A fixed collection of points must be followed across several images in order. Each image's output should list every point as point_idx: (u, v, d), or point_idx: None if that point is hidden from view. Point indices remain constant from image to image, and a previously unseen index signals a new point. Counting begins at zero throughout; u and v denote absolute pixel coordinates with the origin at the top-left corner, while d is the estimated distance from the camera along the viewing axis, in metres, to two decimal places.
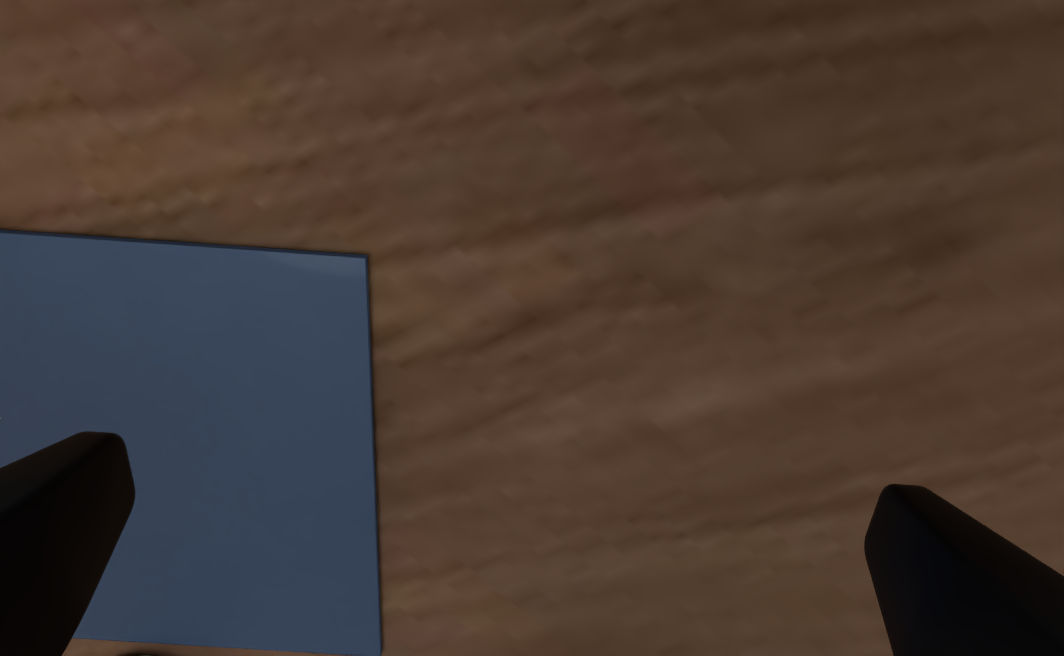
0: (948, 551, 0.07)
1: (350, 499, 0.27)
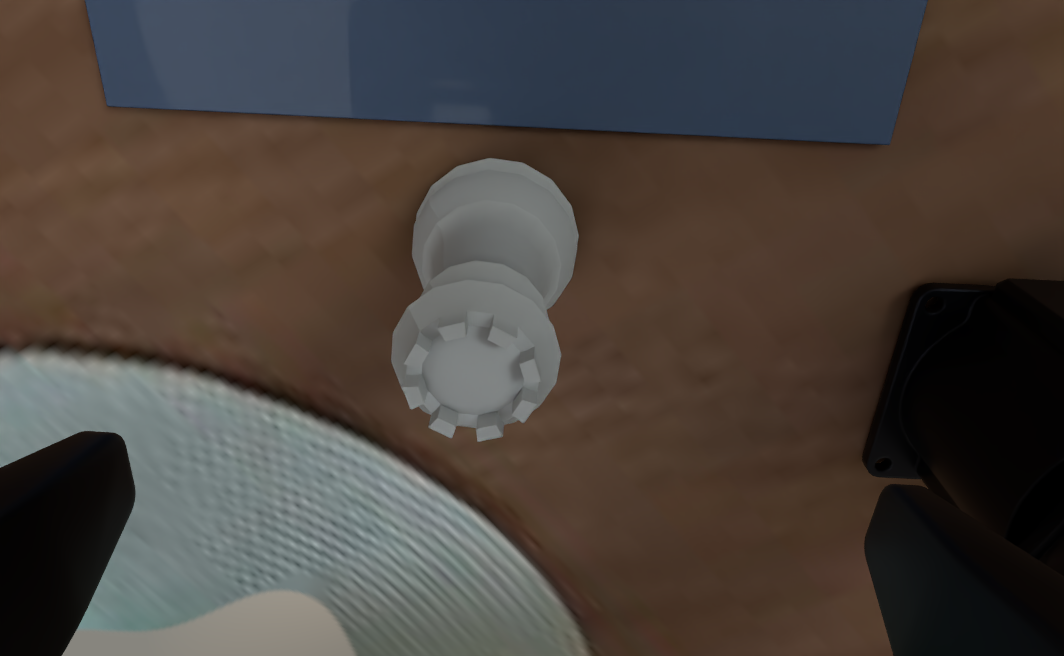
0: (948, 551, 0.07)
1: None
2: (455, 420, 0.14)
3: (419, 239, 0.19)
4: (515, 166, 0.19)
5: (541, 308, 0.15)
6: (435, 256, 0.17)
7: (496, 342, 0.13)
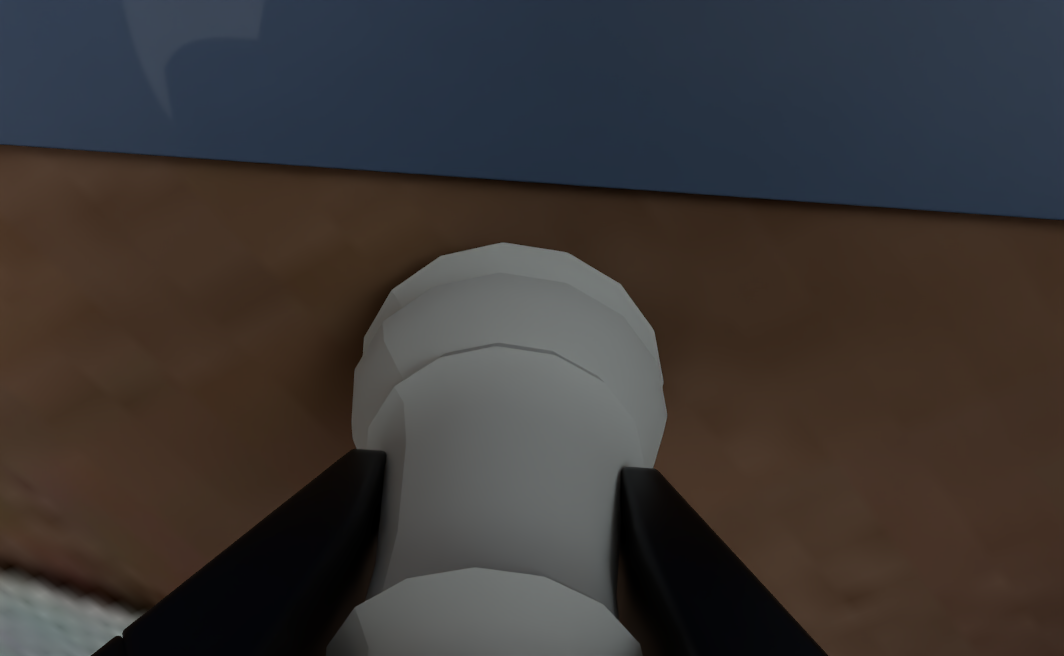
0: (637, 531, 0.07)
1: None
2: None
3: (362, 403, 0.09)
4: (552, 259, 0.10)
5: None
6: (388, 464, 0.08)
7: None
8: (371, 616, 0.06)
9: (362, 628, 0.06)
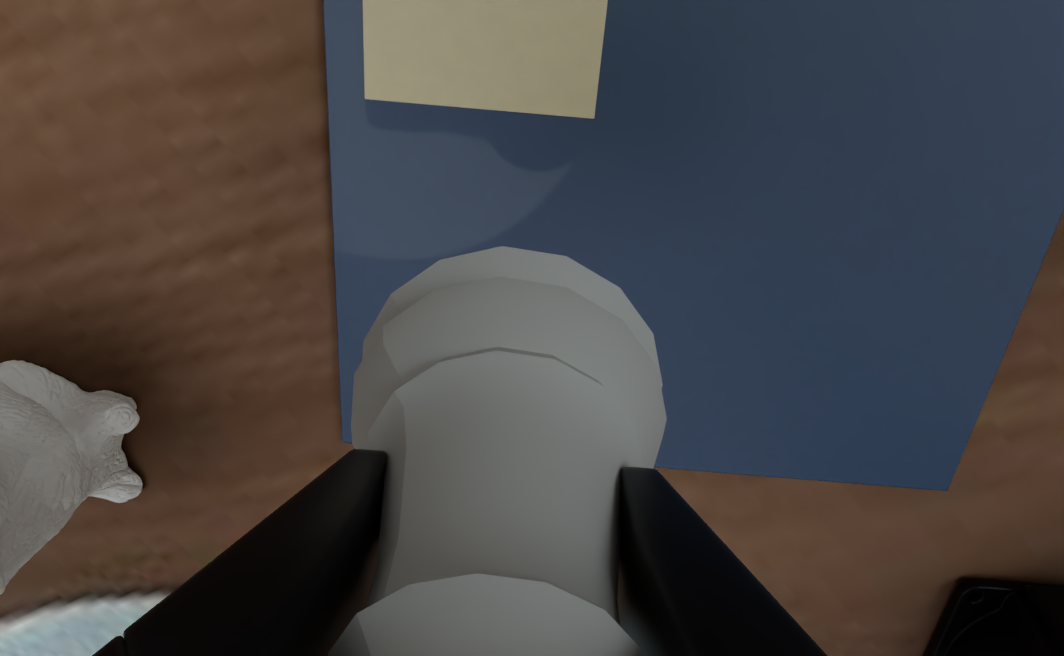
0: (637, 531, 0.07)
1: (1014, 251, 0.21)
2: None
3: (363, 408, 0.09)
4: (552, 263, 0.10)
5: None
6: (388, 469, 0.08)
7: None
8: (373, 622, 0.06)
9: (364, 634, 0.06)
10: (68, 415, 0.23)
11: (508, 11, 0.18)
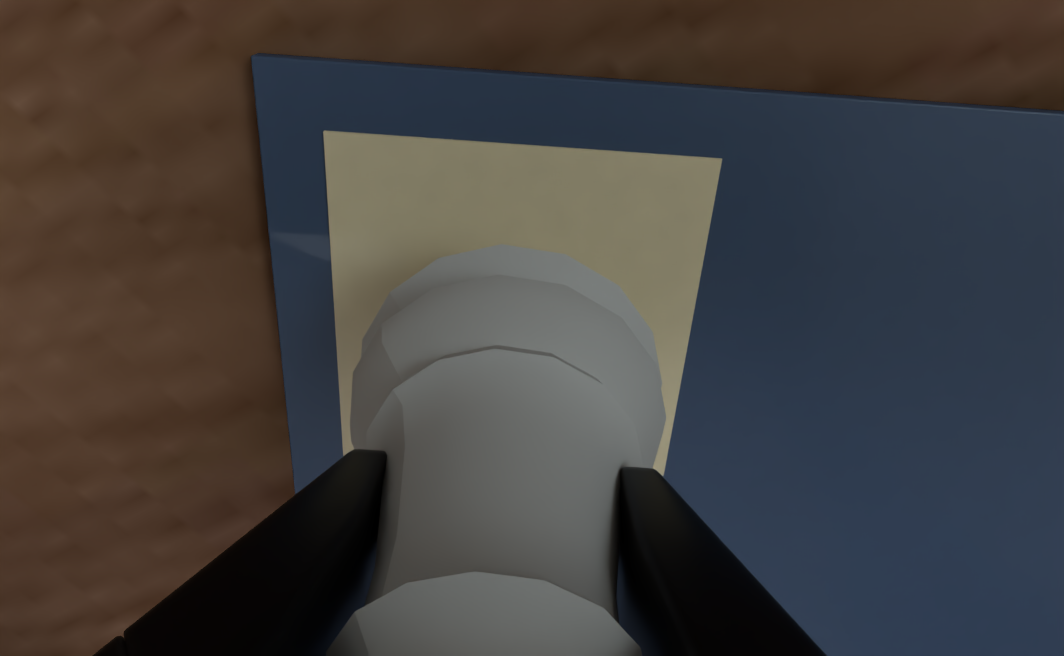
0: (636, 530, 0.07)
1: None
2: None
3: (360, 406, 0.09)
4: (551, 261, 0.10)
5: None
6: (387, 467, 0.08)
7: None
8: (371, 621, 0.06)
9: (362, 633, 0.06)
10: None
11: None
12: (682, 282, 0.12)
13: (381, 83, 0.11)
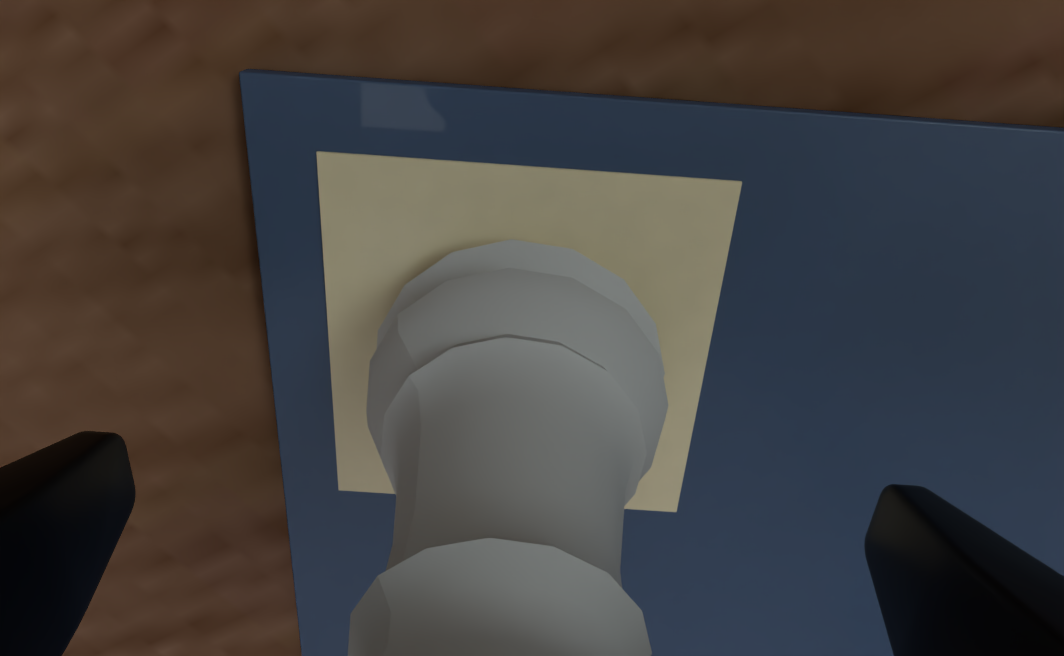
0: (948, 551, 0.07)
1: None
2: None
3: (377, 392, 0.10)
4: (559, 256, 0.10)
5: (638, 636, 0.07)
6: (404, 448, 0.09)
7: None
8: (393, 583, 0.06)
9: (384, 595, 0.06)
10: None
11: None
12: (698, 311, 0.11)
13: (378, 101, 0.10)
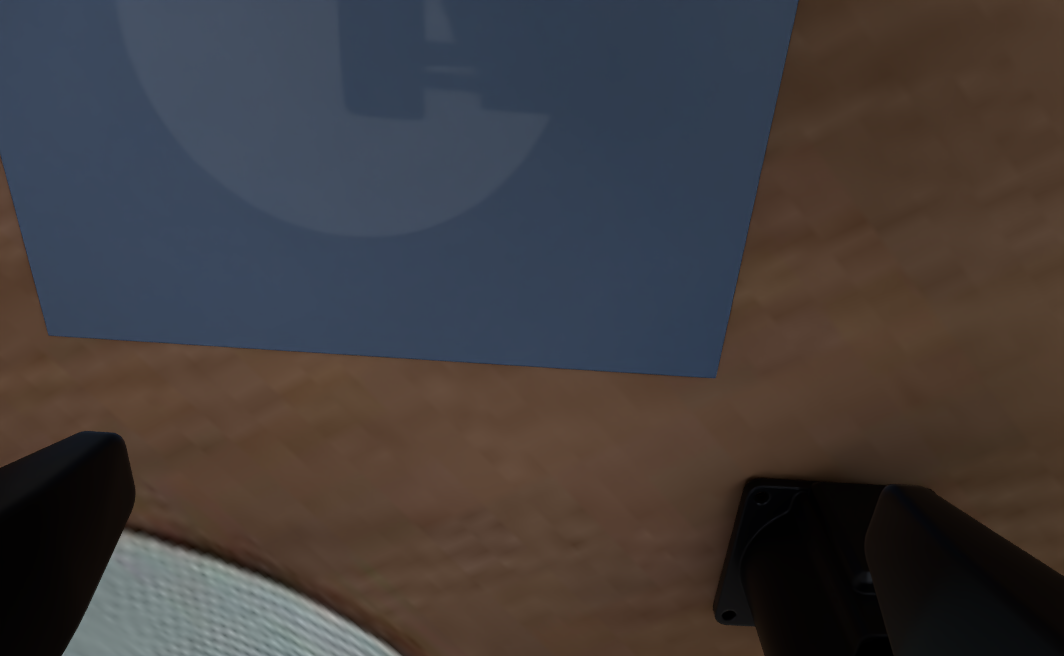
0: (948, 551, 0.07)
1: (743, 93, 0.19)
2: None
3: None
4: None
5: None
6: None
7: None
8: None
9: None
10: None
11: None
12: None
13: None
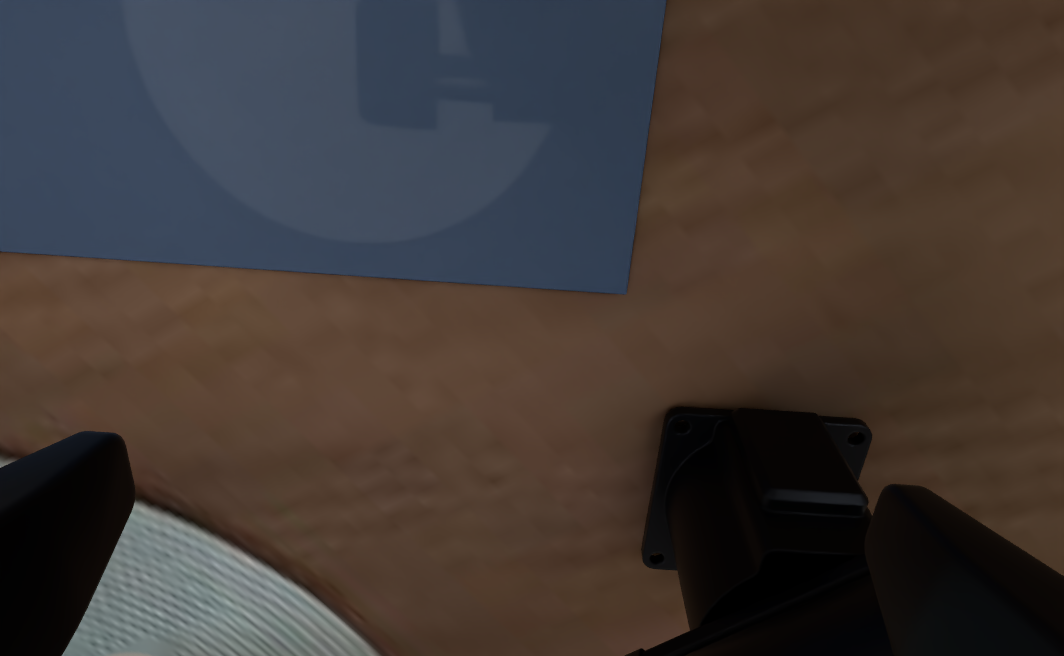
0: (948, 551, 0.07)
1: None
2: None
3: None
4: None
5: None
6: None
7: None
8: None
9: None
10: None
11: None
12: None
13: None
